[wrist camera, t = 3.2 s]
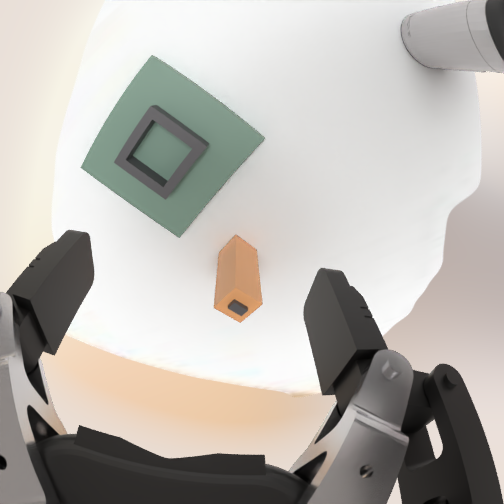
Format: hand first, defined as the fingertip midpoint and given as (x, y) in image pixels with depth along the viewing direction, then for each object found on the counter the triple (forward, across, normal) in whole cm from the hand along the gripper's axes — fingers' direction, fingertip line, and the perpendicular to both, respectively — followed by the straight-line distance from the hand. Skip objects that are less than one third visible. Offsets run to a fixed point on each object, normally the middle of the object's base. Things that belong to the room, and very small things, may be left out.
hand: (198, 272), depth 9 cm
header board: (+28, +8, +2) cm, 29 cm away
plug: (+28, -4, +16) cm, 33 cm away
